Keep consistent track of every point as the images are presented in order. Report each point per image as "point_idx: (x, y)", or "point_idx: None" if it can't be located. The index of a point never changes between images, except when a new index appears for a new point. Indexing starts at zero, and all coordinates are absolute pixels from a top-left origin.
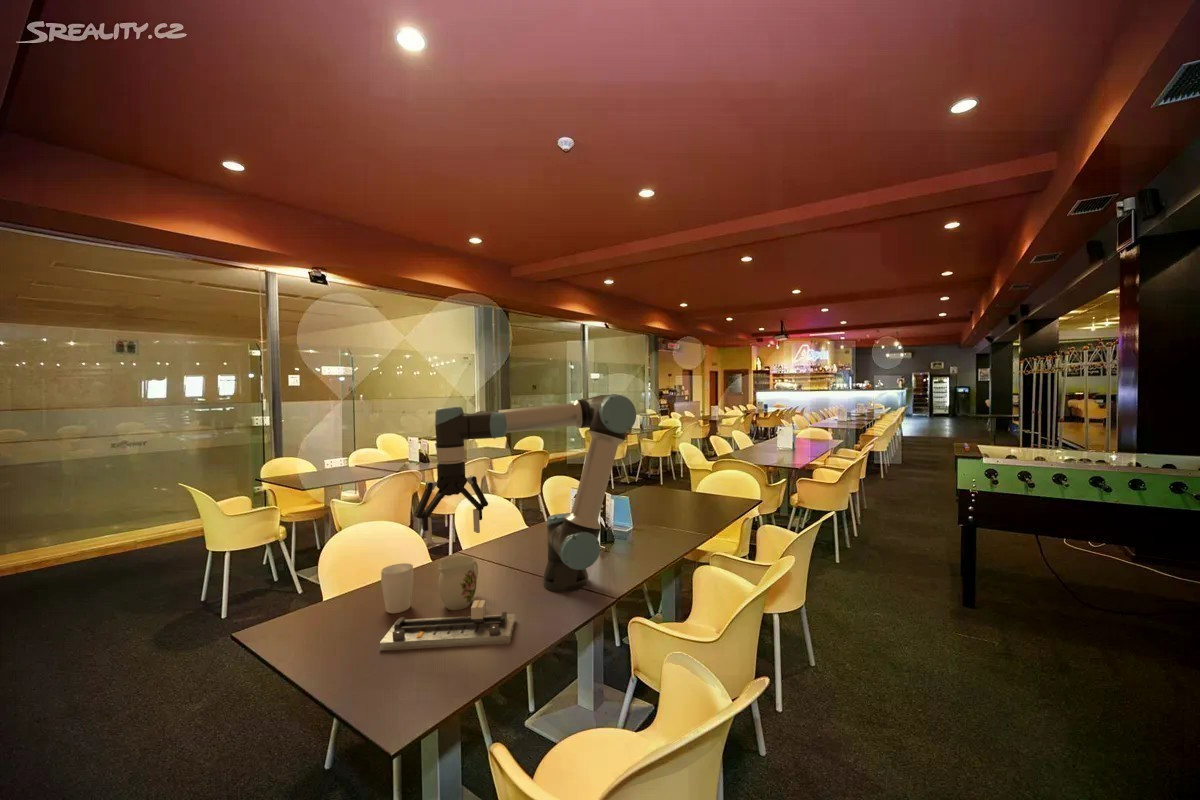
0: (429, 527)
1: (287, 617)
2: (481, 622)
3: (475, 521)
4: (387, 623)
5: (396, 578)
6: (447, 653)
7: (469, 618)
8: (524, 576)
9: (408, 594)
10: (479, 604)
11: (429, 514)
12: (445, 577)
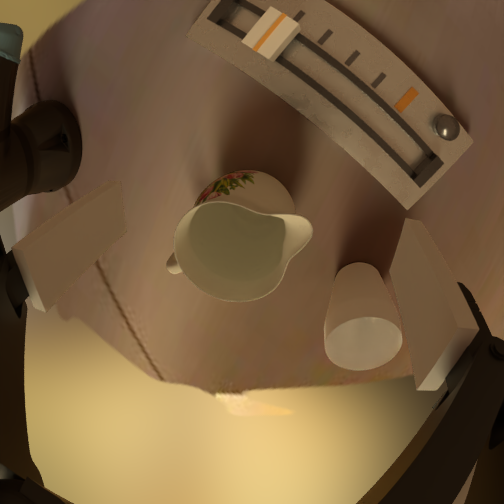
0: (450, 279)
1: None
2: None
3: (84, 232)
4: None
5: (385, 310)
6: (376, 14)
7: (290, 64)
8: None
9: (349, 280)
10: (269, 25)
11: (480, 370)
12: (285, 222)
